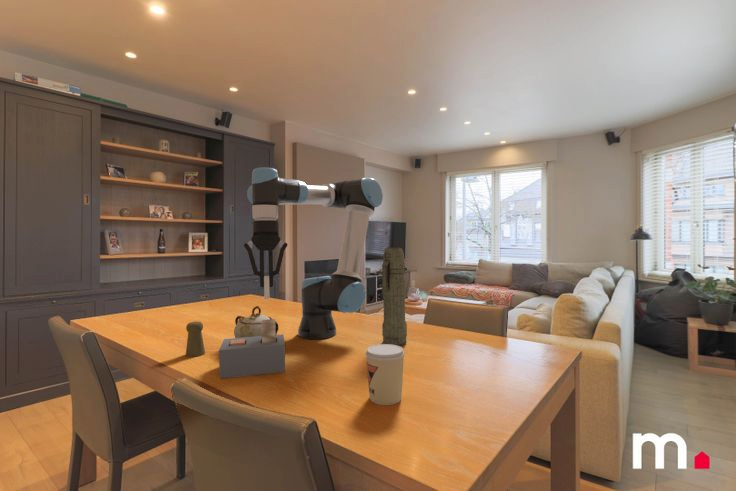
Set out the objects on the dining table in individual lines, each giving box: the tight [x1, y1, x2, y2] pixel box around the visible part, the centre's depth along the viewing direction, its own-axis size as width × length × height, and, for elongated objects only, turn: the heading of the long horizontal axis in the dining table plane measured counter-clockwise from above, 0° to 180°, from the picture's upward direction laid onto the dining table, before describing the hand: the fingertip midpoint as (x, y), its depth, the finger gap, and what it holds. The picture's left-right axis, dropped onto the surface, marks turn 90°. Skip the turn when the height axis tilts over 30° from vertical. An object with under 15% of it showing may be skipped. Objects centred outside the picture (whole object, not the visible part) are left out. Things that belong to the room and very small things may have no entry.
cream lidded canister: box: [365, 343, 405, 406], centre depth 91 cm, size 9×9×12 cm
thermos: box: [381, 246, 408, 347], centre depth 138 cm, size 9×12×35 cm
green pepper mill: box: [185, 321, 206, 358], centre depth 128 cm, size 6×6×11 cm
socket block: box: [218, 334, 286, 380], centre depth 113 cm, size 18×12×8 cm, turn 104°
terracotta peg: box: [230, 339, 245, 346], centre depth 112 cm, size 4×4×8 cm
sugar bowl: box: [233, 305, 279, 338], centre depth 133 cm, size 20×15×15 cm
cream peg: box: [261, 318, 276, 343], centre depth 114 cm, size 4×4×8 cm
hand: (267, 297), depth 114 cm, fingers closed
